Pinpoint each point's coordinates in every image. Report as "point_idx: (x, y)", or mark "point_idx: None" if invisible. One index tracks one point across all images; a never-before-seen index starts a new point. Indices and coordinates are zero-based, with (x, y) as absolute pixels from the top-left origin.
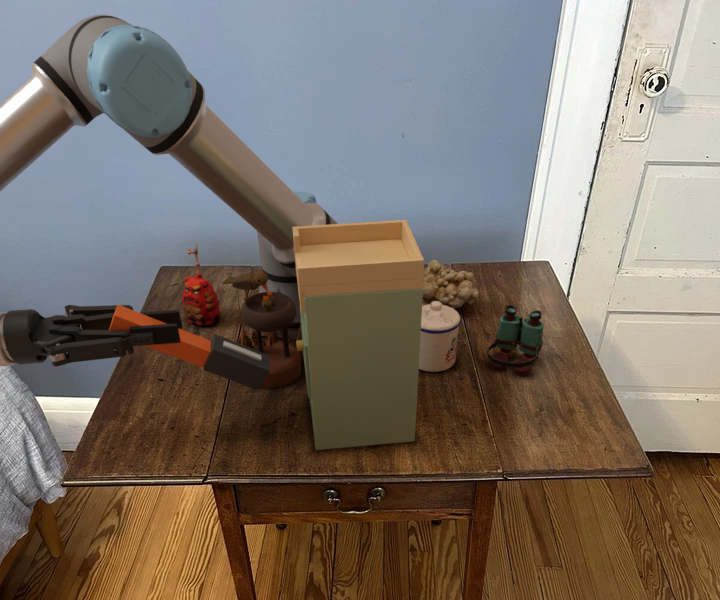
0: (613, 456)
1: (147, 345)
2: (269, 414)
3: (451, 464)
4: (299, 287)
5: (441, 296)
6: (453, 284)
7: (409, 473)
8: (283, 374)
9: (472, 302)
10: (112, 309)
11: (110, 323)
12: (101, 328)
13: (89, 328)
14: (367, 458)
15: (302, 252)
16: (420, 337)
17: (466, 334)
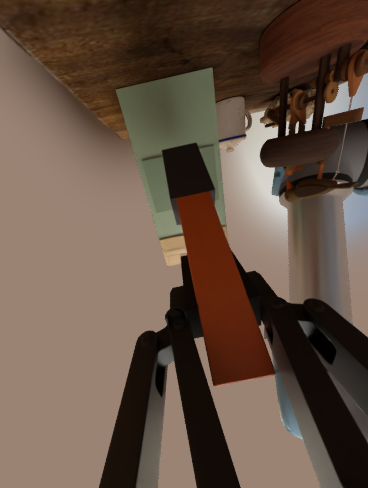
0: (129, 137)
1: (193, 283)
2: (194, 41)
3: (114, 124)
4: (164, 256)
5: None
6: None
7: (100, 120)
8: (259, 67)
9: (265, 111)
10: (331, 372)
11: (285, 376)
12: (302, 410)
13: (328, 484)
14: (111, 108)
15: None
16: (221, 133)
17: (245, 104)
